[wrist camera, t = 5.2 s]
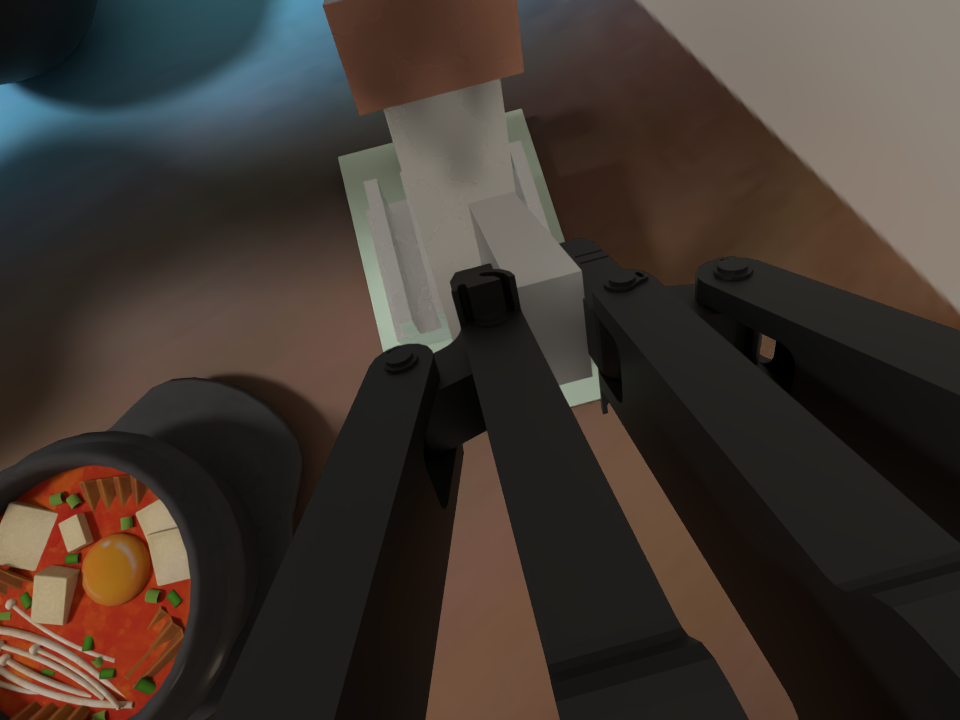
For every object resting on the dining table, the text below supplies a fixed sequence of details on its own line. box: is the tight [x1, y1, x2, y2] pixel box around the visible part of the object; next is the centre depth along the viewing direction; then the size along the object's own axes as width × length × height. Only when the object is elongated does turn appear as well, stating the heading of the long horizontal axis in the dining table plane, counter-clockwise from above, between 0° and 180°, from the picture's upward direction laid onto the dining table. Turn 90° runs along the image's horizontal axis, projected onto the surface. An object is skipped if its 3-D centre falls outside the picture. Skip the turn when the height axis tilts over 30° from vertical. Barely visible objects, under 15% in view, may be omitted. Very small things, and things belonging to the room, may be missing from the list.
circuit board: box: [338, 109, 601, 431], centre depth 34 cm, size 22×14×1 cm, turn 15°
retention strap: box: [323, 0, 524, 341], centre depth 20 cm, size 17×6×1 cm
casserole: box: [0, 377, 303, 720], centre depth 28 cm, size 25×19×8 cm
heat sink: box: [364, 140, 551, 345], centre depth 30 cm, size 19×11×8 cm, turn 15°
